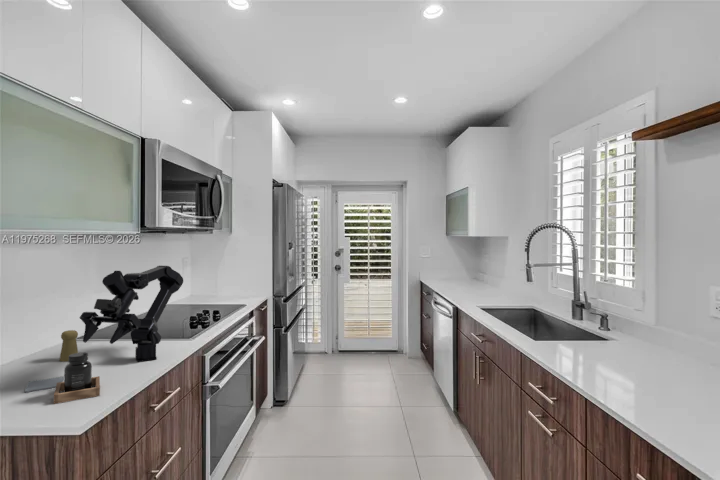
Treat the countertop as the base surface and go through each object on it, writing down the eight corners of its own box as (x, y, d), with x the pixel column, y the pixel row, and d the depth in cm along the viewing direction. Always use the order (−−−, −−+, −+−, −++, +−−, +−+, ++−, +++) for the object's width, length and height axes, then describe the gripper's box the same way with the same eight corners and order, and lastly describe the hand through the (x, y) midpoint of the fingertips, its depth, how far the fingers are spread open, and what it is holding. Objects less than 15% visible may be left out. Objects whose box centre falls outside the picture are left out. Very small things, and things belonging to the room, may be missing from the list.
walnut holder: (99, 383, 127) (99, 376, 127) (99, 395, 118) (99, 387, 118) (56, 390, 121) (56, 382, 121) (53, 403, 112) (53, 395, 112)
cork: (68, 362, 146) (68, 333, 146) (55, 360, 148) (55, 332, 147) (82, 357, 152) (83, 329, 152) (70, 356, 154) (70, 328, 153)
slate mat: (63, 377, 131) (63, 376, 131) (61, 386, 124) (61, 385, 124) (28, 383, 126) (28, 381, 126) (24, 392, 119) (24, 391, 119)
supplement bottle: (96, 389, 123) (97, 351, 123) (81, 398, 116) (82, 358, 116) (74, 388, 123) (74, 351, 122) (58, 397, 116) (58, 357, 116)
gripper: (84, 288, 132) (55, 328, 122) (136, 290, 131) (112, 330, 120) (101, 306, 140) (75, 345, 130) (150, 309, 139) (128, 348, 128)
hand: (97, 342), depth 127 cm, fingers open, 9 cm apart
